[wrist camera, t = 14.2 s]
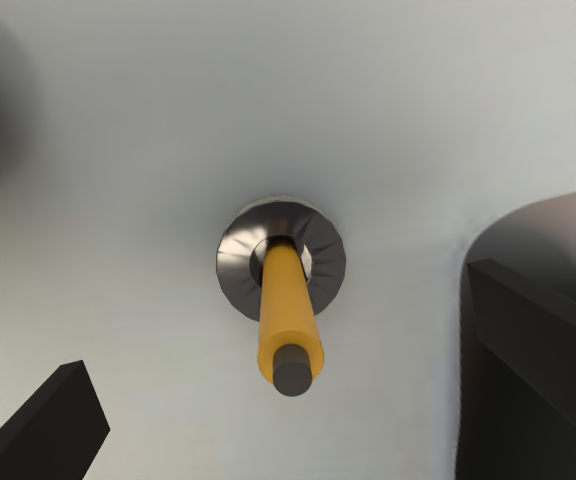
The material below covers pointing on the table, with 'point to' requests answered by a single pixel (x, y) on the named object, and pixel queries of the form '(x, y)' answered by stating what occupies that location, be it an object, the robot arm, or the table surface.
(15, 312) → the table surface
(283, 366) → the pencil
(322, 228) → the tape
